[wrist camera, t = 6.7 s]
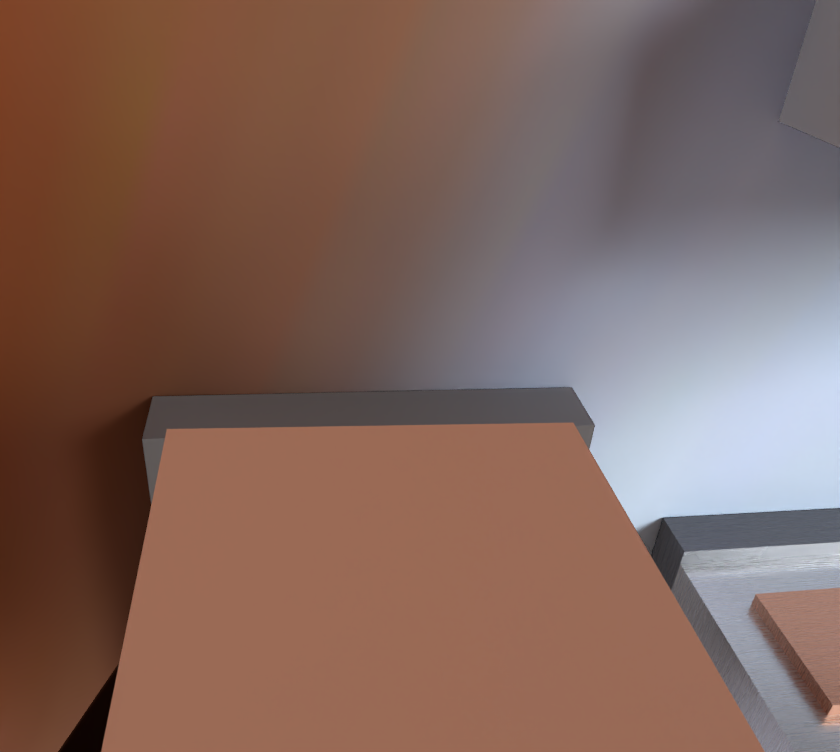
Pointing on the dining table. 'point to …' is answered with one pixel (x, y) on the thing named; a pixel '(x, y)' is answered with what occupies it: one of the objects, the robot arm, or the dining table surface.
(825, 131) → the grey block
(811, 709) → the mounted unit
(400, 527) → the terracotta block
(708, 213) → the dining table surface
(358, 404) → the charcoal tray
